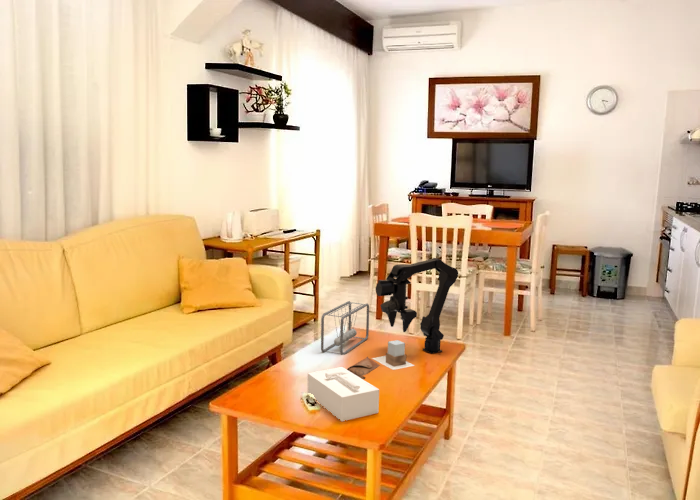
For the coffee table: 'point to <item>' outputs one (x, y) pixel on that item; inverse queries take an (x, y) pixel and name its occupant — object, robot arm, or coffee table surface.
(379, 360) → the plate
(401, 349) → the top block
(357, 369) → the sunglasses case
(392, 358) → the base block
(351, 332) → the newton's cradle
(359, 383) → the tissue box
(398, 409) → the coffee table surface
